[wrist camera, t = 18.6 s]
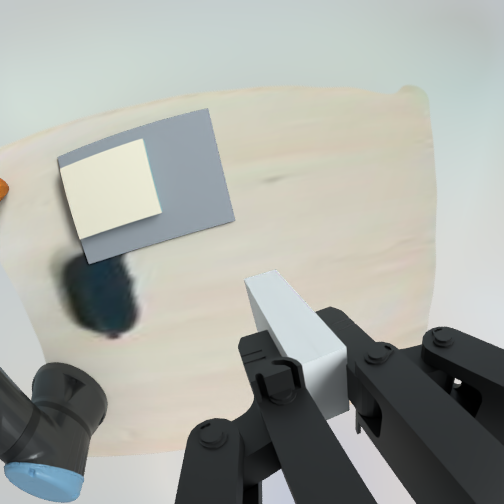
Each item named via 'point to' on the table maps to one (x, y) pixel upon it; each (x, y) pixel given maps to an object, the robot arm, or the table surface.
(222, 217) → the mat
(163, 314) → the table surface
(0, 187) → the carrot
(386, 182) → the table surface
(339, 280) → the table surface
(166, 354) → the table surface
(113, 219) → the board
